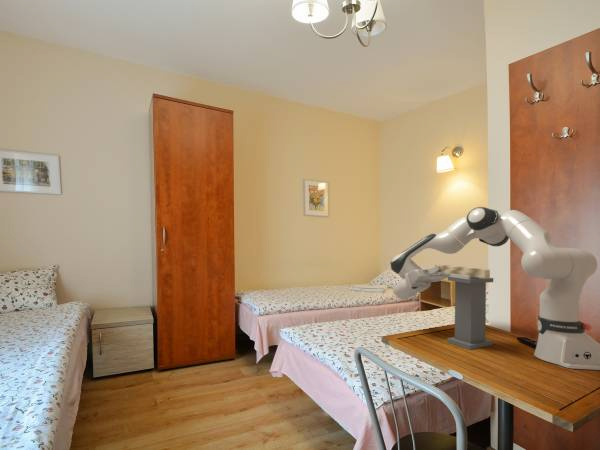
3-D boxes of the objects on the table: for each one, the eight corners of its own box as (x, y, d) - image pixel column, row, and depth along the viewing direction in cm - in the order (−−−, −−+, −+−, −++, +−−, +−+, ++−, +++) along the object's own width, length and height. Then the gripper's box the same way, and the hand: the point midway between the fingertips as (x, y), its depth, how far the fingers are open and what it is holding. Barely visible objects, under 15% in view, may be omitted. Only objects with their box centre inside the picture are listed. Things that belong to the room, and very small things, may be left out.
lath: (434, 271, 148) (434, 264, 149) (439, 271, 150) (439, 264, 150) (484, 277, 129) (484, 269, 129) (489, 277, 130) (489, 269, 130)
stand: (447, 342, 139) (447, 273, 140) (469, 338, 146) (470, 272, 146) (469, 349, 130) (470, 276, 131) (493, 344, 137) (493, 275, 138)
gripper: (439, 286, 161) (462, 273, 150) (406, 288, 151) (428, 275, 141) (433, 273, 164) (456, 260, 153) (401, 274, 154) (422, 261, 143)
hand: (442, 267), depth 147 cm, fingers closed on lath, 3 cm apart
